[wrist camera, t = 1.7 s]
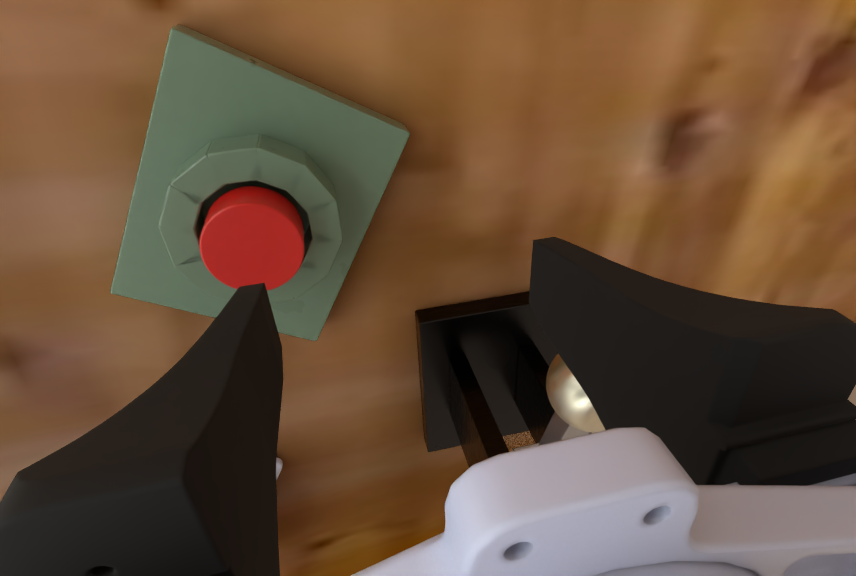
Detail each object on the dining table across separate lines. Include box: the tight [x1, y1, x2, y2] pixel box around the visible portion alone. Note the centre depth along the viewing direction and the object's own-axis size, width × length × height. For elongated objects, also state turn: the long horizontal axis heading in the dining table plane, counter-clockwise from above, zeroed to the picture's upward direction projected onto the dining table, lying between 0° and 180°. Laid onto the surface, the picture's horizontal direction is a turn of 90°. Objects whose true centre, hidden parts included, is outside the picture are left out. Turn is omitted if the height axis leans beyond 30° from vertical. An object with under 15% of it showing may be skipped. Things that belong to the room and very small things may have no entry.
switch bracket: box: [415, 292, 591, 468], centre depth 26 cm, size 10×8×10 cm
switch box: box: [110, 24, 410, 341], centre depth 21 cm, size 11×9×3 cm
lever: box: [513, 354, 605, 451], centre depth 20 cm, size 12×3×3 cm, turn 4°
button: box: [199, 186, 304, 290], centre depth 19 cm, size 4×4×2 cm
